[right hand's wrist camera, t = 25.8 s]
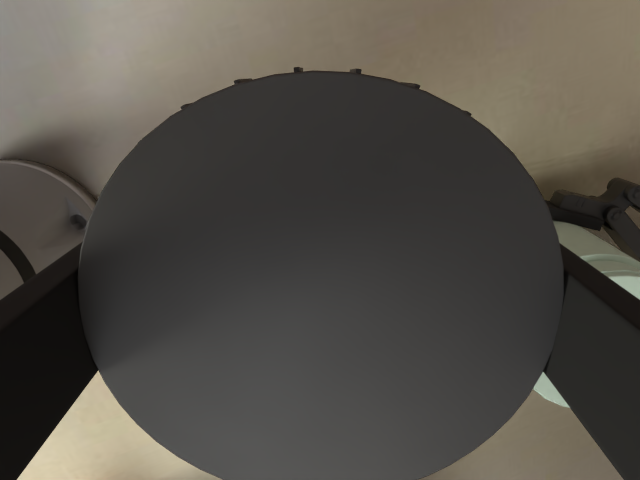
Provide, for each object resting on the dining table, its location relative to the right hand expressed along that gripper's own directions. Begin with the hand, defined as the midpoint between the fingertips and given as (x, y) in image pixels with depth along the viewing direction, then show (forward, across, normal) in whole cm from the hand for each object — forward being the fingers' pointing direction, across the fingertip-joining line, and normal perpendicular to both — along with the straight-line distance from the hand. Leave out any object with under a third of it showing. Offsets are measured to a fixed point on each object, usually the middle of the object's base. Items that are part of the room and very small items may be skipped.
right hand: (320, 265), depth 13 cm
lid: (-3, 0, 0) cm, 3 cm away
